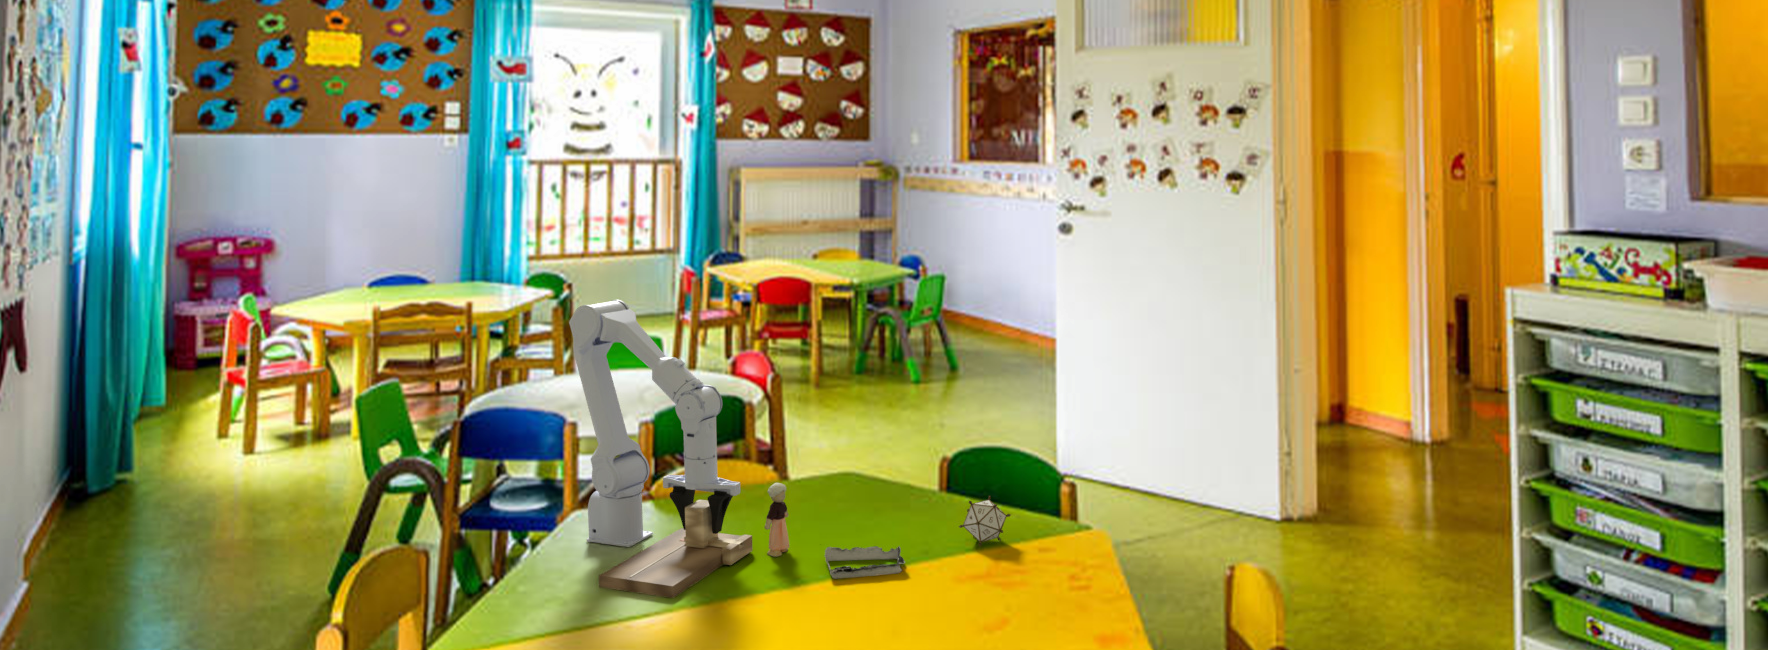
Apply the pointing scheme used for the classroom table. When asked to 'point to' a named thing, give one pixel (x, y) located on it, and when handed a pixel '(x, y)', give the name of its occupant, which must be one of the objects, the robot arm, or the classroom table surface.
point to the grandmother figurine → (777, 521)
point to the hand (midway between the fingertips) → (702, 530)
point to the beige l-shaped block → (702, 536)
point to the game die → (984, 520)
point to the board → (665, 567)
